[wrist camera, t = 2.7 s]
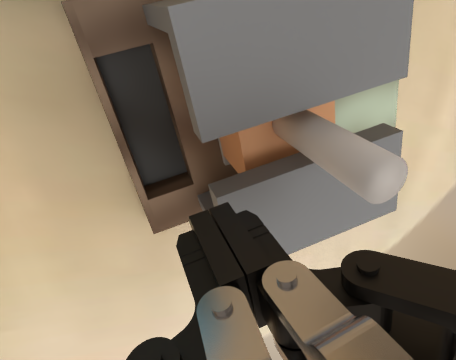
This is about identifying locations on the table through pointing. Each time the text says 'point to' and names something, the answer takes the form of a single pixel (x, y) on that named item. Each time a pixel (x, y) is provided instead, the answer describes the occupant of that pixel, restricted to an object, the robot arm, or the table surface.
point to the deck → (170, 108)
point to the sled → (319, 151)
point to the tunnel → (285, 94)
